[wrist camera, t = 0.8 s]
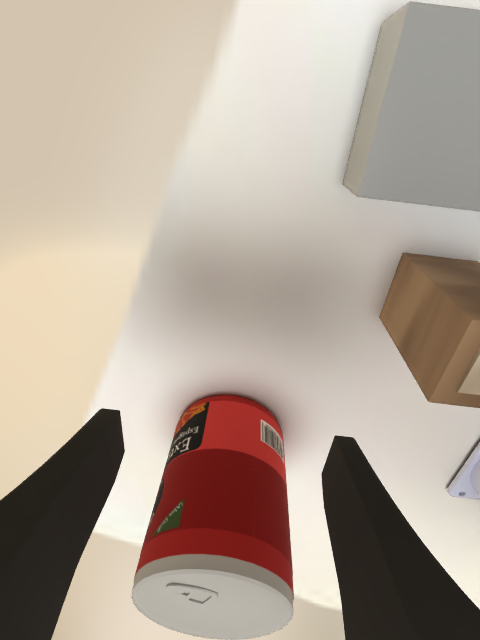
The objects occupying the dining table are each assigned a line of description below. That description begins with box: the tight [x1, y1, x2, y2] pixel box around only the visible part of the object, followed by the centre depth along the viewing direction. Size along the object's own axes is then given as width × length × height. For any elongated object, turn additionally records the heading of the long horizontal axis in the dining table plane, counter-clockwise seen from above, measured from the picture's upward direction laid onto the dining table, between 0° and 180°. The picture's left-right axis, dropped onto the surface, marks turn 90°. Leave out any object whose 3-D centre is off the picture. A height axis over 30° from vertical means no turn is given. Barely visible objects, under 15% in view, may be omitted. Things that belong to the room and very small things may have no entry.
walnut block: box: [379, 253, 480, 408], centre depth 16 cm, size 4×4×7 cm
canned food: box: [131, 395, 294, 640], centre depth 21 cm, size 8×8×11 cm
